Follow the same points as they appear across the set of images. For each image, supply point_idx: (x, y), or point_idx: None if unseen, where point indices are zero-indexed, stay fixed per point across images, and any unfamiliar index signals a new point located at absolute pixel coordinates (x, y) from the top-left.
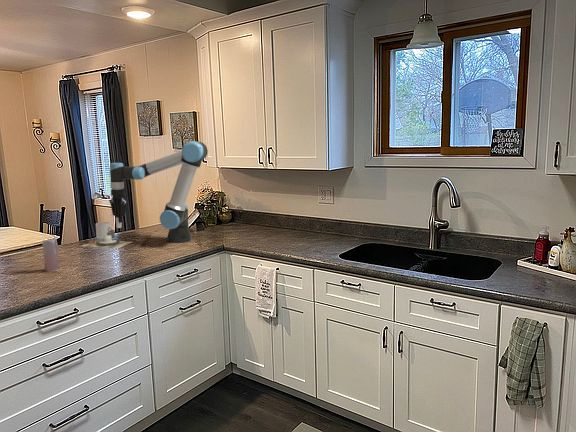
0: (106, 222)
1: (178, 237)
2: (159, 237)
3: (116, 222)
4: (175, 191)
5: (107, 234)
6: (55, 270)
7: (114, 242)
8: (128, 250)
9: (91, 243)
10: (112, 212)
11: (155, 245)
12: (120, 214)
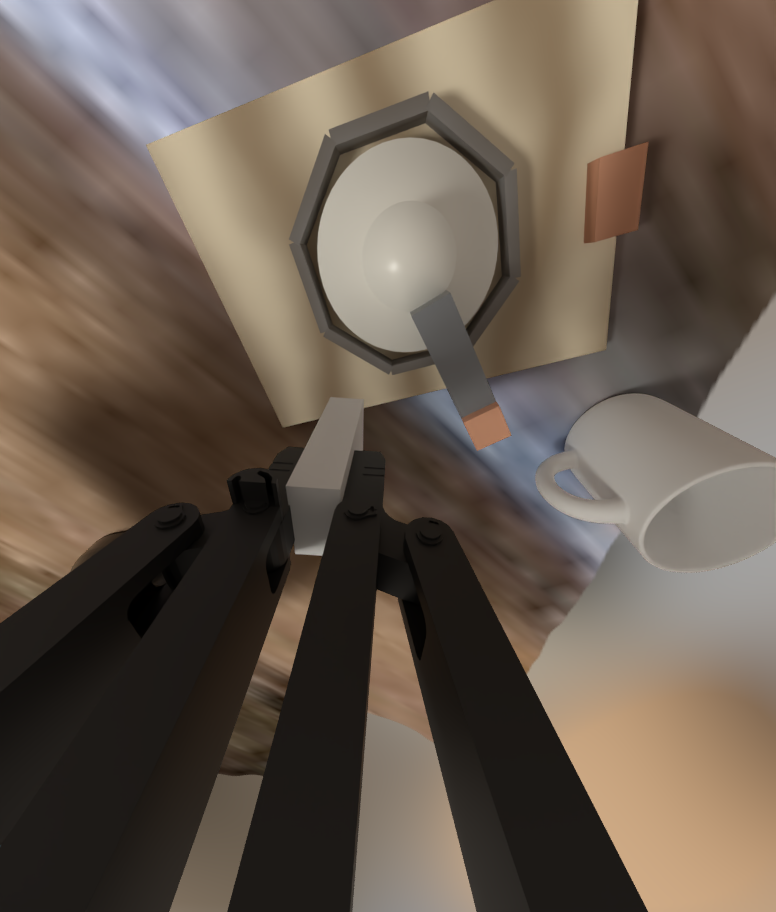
0: (697, 567)
1: (75, 566)
2: (304, 583)
3: (349, 433)
4: None
5: (440, 294)
6: None
7: (298, 247)
8: (83, 201)
9: (586, 177)
10: (470, 581)
11: (121, 443)
12: (153, 540)
